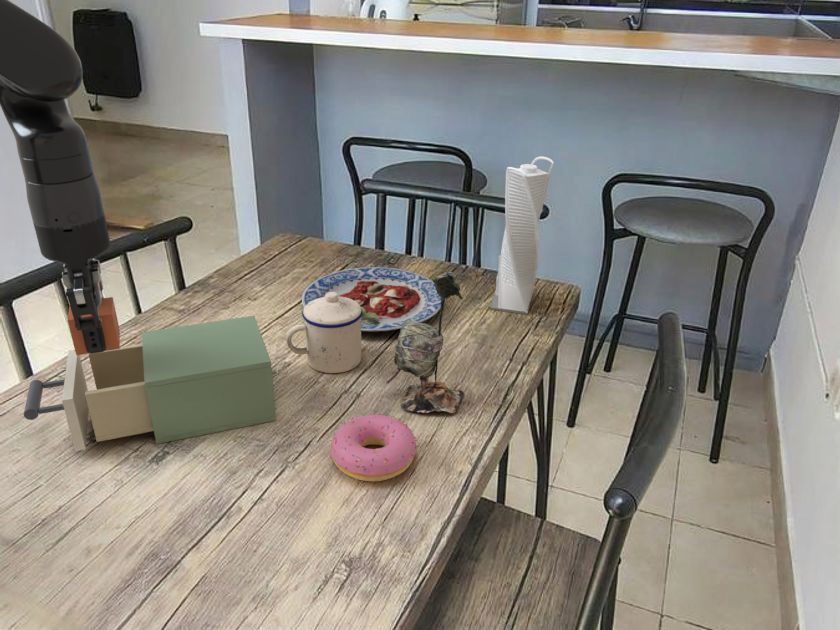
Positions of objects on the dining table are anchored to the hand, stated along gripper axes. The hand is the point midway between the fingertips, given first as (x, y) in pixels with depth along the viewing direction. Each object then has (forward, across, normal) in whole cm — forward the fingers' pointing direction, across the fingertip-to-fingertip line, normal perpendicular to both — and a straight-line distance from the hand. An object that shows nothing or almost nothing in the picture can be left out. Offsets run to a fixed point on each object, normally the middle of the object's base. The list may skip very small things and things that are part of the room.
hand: (97, 340), depth 87 cm
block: (0, 0, 0) cm, 0 cm away
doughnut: (+13, +19, +31) cm, 38 cm away
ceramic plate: (+13, -22, +44) cm, 51 cm away
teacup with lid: (+13, -6, +31) cm, 34 cm away
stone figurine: (+13, +9, +42) cm, 45 cm away
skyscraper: (+13, -14, +69) cm, 71 cm away
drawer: (+12, 0, 0) cm, 12 cm away
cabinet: (+13, 0, +13) cm, 18 cm away
